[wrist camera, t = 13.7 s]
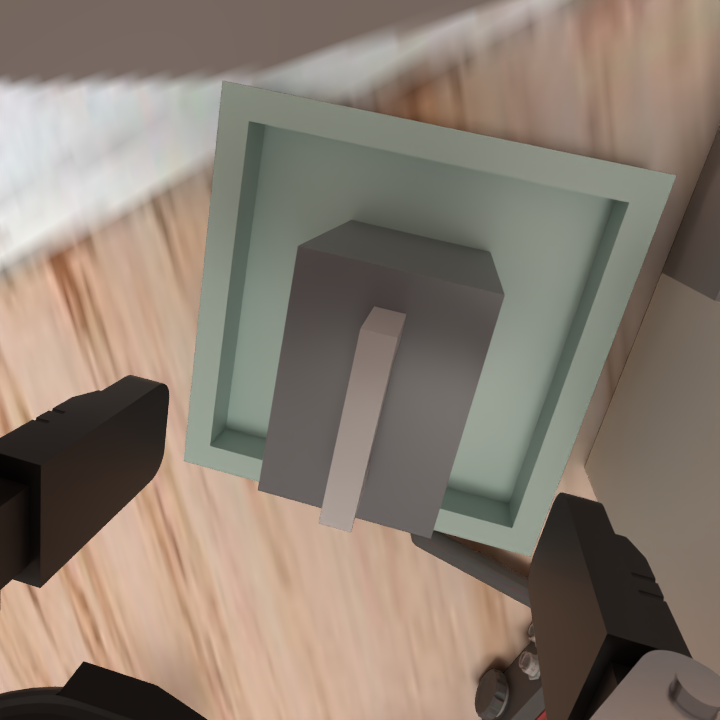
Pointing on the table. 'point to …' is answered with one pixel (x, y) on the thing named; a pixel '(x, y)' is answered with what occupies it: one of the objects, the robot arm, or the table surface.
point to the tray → (437, 221)
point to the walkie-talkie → (522, 679)
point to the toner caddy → (378, 374)
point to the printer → (674, 428)
